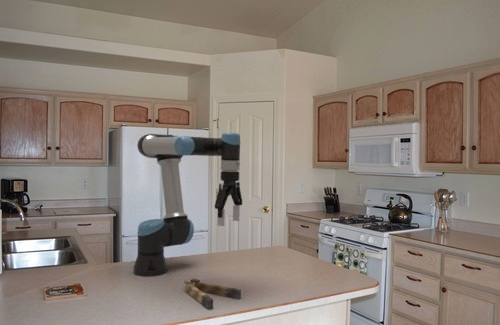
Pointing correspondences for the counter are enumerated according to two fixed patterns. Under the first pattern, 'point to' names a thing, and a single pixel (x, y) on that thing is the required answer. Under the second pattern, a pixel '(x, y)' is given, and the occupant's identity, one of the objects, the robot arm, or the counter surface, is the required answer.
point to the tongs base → (217, 289)
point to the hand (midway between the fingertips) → (228, 223)
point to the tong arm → (199, 295)
